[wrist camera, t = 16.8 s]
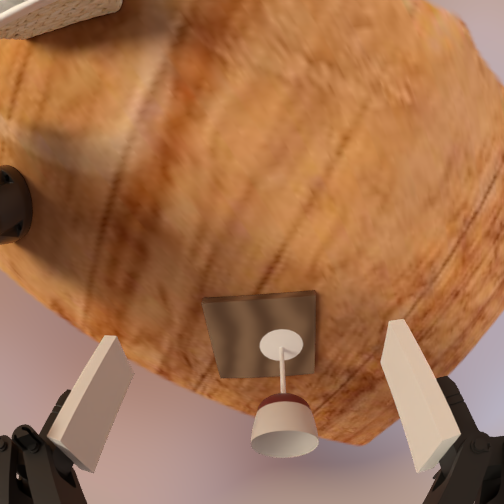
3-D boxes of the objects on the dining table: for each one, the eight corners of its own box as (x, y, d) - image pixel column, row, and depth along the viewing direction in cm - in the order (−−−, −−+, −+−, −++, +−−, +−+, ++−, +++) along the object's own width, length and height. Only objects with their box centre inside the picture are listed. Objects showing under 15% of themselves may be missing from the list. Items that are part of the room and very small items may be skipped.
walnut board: (221, 372, 56) (220, 378, 55) (203, 297, 49) (201, 303, 47) (313, 367, 55) (314, 373, 53) (314, 290, 47) (315, 295, 46)
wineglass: (262, 323, 49) (258, 426, 30) (312, 332, 49) (328, 432, 31) (251, 357, 52) (244, 454, 34) (298, 364, 52) (306, 459, 34)
